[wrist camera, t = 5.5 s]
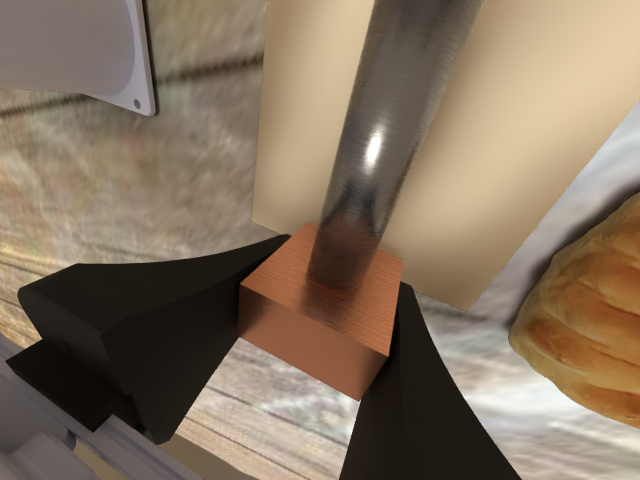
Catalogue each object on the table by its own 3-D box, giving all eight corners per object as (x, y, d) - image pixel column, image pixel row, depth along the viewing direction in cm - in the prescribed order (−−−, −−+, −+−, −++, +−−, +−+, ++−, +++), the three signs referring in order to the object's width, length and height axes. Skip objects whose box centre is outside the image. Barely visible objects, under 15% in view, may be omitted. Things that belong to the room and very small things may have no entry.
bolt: (298, 262, 12) (236, 335, 8) (361, -19, 7) (268, -214, 3) (382, 299, 11) (358, 402, 7) (533, 8, 6) (767, -227, 2)
